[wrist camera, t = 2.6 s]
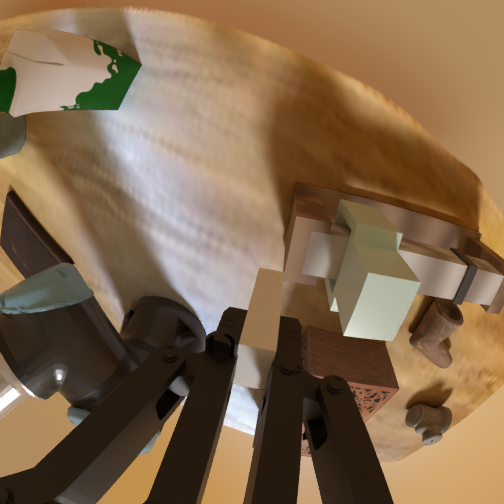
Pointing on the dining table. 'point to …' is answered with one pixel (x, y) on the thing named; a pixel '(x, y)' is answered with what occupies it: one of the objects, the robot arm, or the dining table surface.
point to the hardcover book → (27, 240)
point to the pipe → (437, 331)
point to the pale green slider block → (371, 276)
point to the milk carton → (62, 73)
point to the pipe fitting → (429, 422)
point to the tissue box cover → (348, 370)
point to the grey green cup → (11, 134)
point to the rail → (404, 219)
